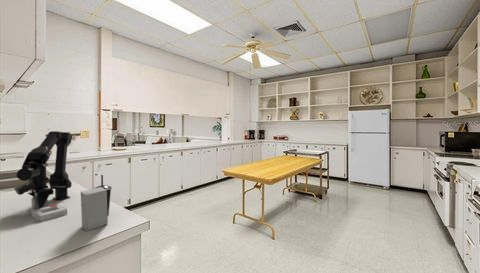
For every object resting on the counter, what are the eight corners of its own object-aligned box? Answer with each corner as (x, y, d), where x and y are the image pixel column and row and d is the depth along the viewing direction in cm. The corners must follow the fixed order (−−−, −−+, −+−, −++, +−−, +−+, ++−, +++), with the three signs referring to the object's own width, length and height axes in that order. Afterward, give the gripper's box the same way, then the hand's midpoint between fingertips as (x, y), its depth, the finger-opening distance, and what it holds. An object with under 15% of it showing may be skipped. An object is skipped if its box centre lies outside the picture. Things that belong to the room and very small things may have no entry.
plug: (31, 212, 108) (31, 197, 108) (44, 208, 112) (44, 194, 112) (34, 213, 106) (34, 198, 105) (47, 210, 110) (47, 196, 110)
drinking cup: (89, 217, 102) (88, 175, 101) (105, 212, 109) (105, 172, 108) (98, 221, 98) (98, 177, 97) (115, 215, 105) (114, 174, 104)
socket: (31, 215, 103) (31, 209, 103) (57, 209, 112) (57, 203, 112) (40, 221, 97) (40, 214, 97) (67, 214, 106) (67, 207, 105)
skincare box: (102, 220, 99) (102, 186, 98) (108, 225, 94) (108, 189, 94) (80, 227, 92) (79, 190, 92) (85, 232, 88) (85, 193, 87)
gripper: (10, 176, 106) (11, 208, 107) (22, 181, 96) (23, 216, 97) (40, 173, 116) (40, 202, 116) (53, 177, 106) (54, 208, 106)
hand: (39, 207), depth 109 cm, fingers closed on plug, 4 cm apart
